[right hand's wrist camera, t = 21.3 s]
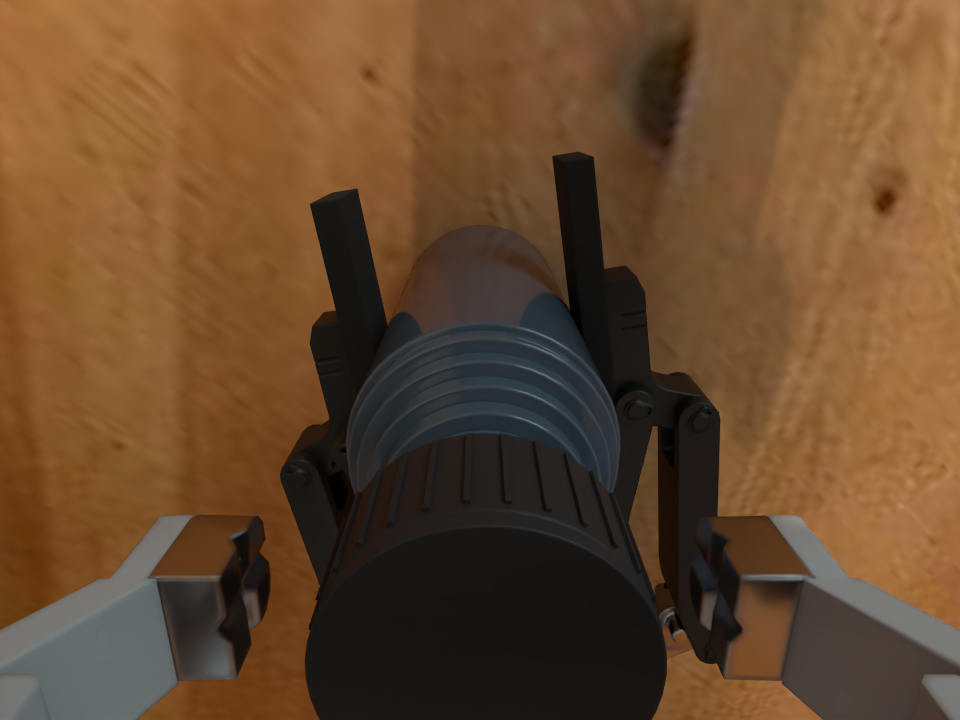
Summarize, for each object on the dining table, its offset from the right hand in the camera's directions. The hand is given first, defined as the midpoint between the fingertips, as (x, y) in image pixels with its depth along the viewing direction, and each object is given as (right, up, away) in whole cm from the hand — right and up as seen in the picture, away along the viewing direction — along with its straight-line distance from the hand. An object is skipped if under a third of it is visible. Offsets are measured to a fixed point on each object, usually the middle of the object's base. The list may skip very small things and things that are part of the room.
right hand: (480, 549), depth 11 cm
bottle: (0, +5, +15) cm, 16 cm away
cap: (0, -1, -2) cm, 2 cm away
